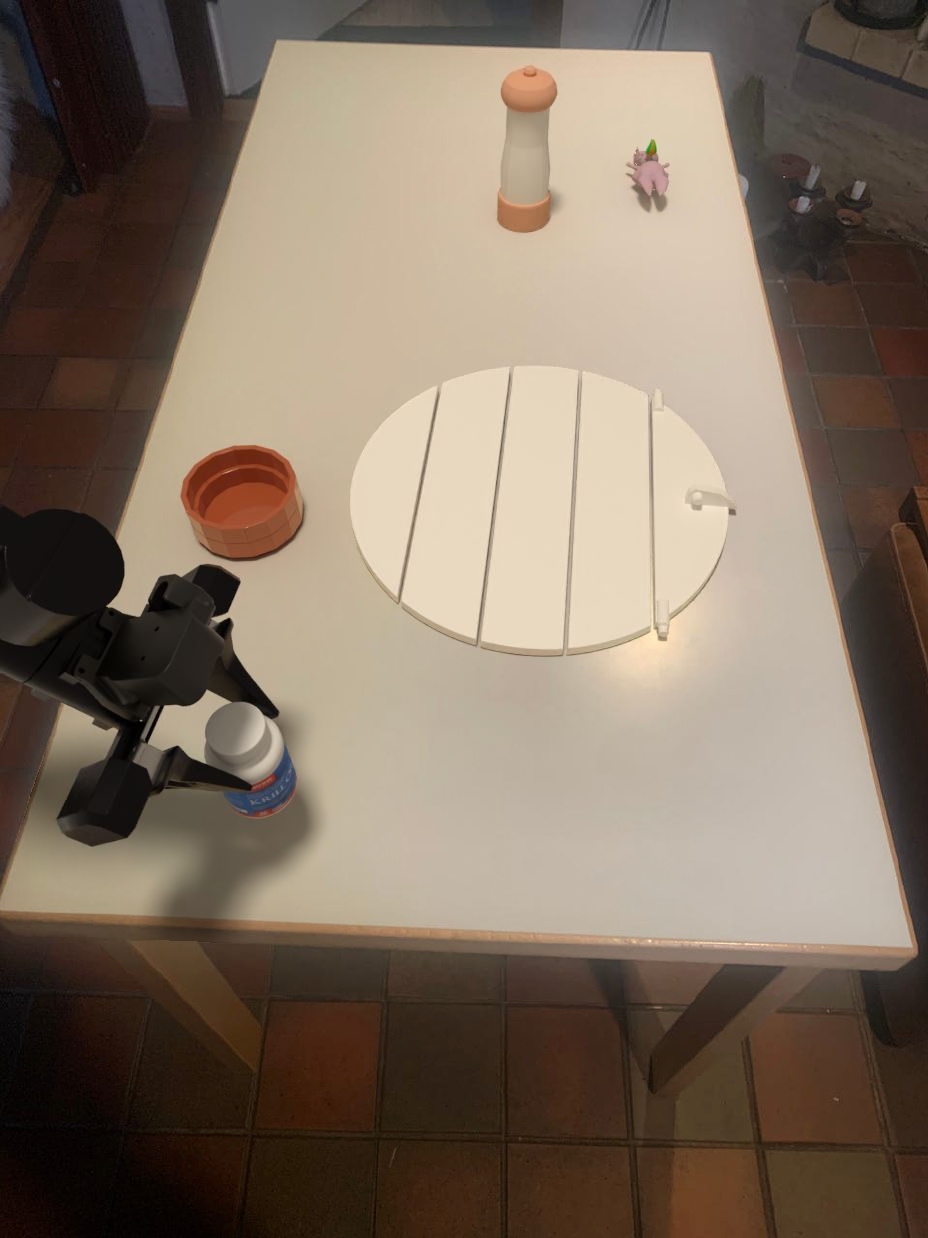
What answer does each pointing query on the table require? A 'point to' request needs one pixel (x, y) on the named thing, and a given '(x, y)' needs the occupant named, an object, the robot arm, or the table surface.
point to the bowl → (242, 500)
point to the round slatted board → (539, 510)
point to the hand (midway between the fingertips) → (263, 752)
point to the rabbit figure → (649, 170)
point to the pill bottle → (251, 758)
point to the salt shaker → (526, 150)
